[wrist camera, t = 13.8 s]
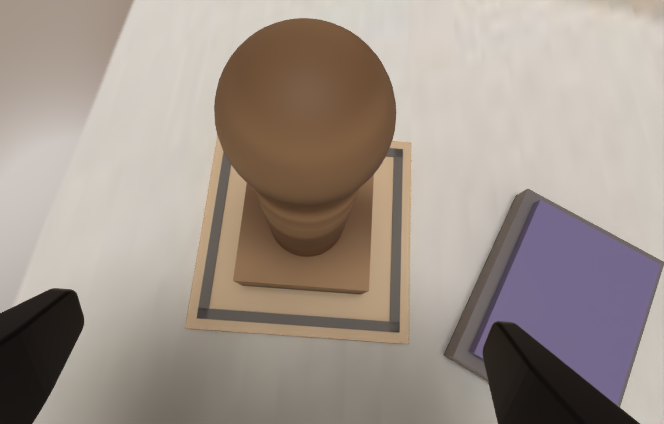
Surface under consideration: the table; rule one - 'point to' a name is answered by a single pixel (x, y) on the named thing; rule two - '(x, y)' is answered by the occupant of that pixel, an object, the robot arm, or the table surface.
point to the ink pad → (562, 293)
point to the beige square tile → (300, 305)
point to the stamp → (305, 153)
